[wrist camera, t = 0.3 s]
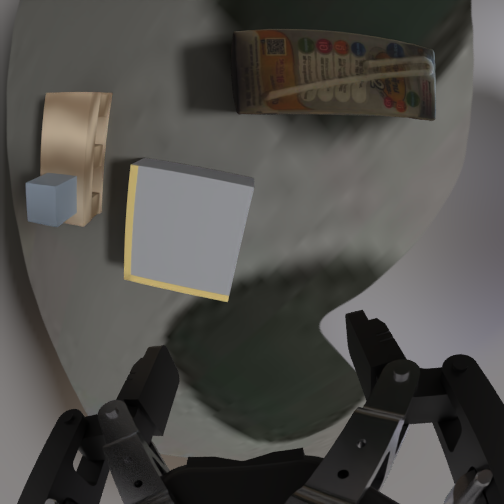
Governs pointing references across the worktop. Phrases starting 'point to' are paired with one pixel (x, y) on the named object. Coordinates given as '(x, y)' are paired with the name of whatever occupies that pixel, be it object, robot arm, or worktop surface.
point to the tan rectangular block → (77, 145)
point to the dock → (185, 227)
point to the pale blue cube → (51, 199)
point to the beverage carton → (331, 74)
